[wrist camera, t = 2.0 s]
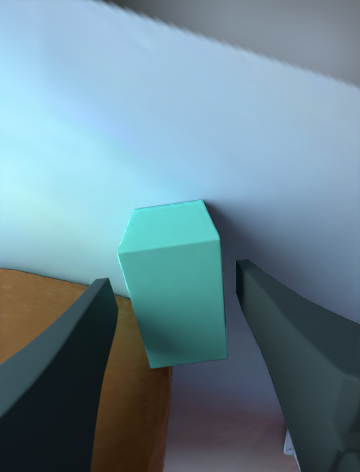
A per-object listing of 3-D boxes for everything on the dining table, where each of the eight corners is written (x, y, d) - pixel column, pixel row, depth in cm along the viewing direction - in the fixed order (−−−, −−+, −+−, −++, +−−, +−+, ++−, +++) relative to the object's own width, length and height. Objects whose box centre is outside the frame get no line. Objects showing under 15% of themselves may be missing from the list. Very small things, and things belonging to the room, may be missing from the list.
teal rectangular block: (211, 293, 16) (228, 358, 12) (155, 301, 16) (150, 369, 12) (202, 198, 13) (221, 238, 9) (133, 208, 13) (116, 252, 9)
